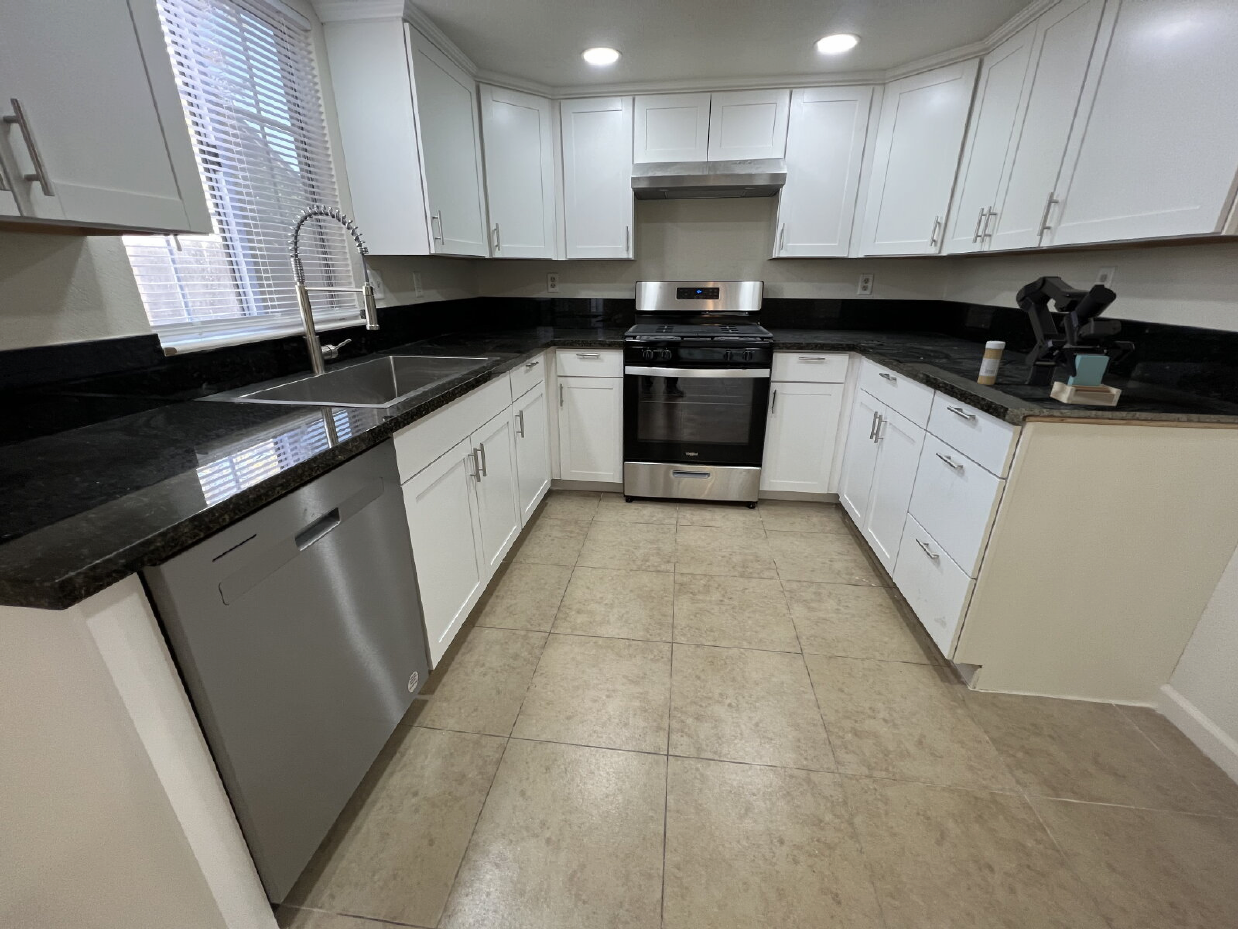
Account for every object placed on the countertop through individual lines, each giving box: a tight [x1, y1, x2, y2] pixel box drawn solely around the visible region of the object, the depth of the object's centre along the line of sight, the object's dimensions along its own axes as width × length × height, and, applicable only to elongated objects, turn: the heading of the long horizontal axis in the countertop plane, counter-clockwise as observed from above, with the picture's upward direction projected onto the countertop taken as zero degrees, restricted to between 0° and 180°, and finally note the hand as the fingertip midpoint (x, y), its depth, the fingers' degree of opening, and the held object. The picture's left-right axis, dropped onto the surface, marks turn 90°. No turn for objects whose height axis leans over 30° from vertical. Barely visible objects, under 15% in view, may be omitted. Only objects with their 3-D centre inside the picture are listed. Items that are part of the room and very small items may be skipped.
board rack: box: [1050, 381, 1122, 407], centre depth 130 cm, size 8×11×5 cm
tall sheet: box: [1066, 355, 1109, 386], centre depth 130 cm, size 2×6×12 cm, turn 73°
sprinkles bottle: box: [976, 340, 1006, 386], centre depth 150 cm, size 5×5×14 cm
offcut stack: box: [1069, 385, 1110, 393], centre depth 129 cm, size 3×8×4 cm, turn 73°
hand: (1089, 377), depth 129 cm, fingers closed on tall sheet, 6 cm apart
